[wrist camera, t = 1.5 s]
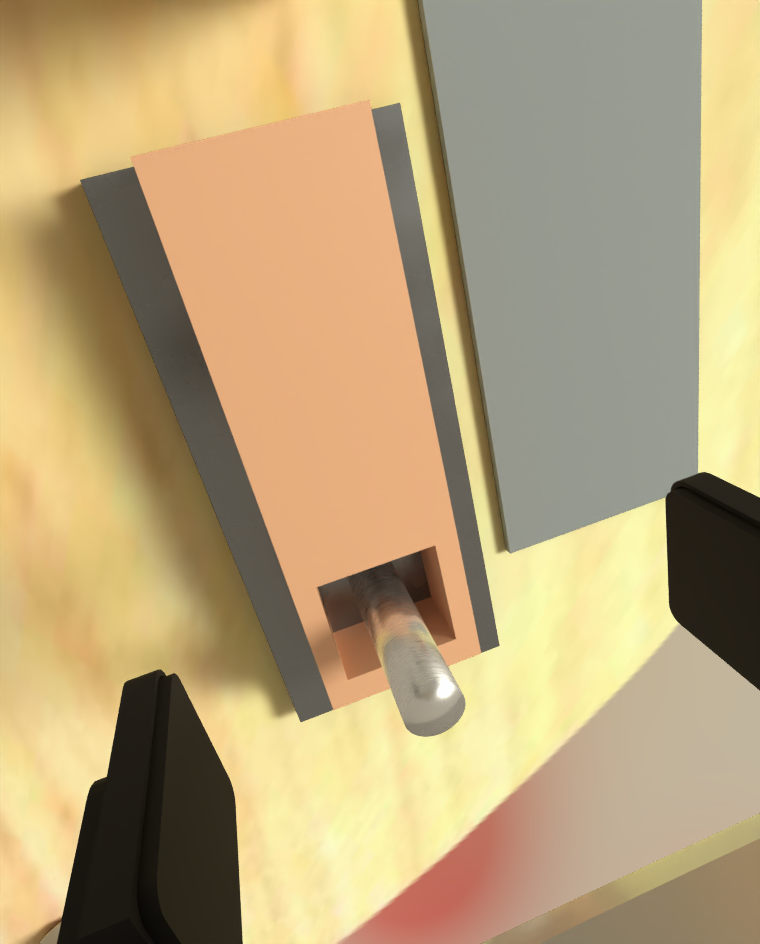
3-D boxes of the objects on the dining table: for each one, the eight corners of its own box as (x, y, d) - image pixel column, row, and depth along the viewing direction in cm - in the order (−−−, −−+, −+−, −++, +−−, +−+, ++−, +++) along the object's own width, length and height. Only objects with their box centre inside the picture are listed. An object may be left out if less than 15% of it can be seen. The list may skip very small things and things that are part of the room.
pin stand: (85, 181, 19) (-4, 157, 11) (391, 107, 20) (515, 37, 12) (297, 706, 29) (334, 897, 21) (490, 632, 30) (594, 785, 22)
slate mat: (412, -33, 19) (416, -37, 18) (693, -91, 20) (702, -97, 20) (506, 549, 28) (510, 553, 28) (691, 482, 30) (697, 485, 29)
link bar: (141, 165, 18) (130, 157, 15) (345, 115, 19) (369, 99, 16) (320, 660, 27) (333, 709, 24) (454, 610, 28) (481, 653, 25)
